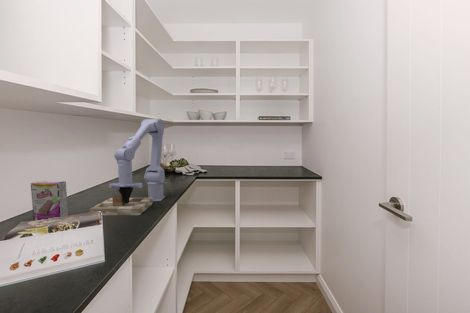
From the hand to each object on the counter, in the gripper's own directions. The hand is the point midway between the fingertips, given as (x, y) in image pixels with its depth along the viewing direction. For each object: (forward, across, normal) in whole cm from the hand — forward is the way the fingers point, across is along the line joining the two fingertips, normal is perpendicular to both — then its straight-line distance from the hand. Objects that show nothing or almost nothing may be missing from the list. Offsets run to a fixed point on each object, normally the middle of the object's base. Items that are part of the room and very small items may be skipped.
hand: (126, 203), depth 108 cm
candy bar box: (+4, -27, -10) cm, 29 cm away
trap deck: (+4, -3, +4) cm, 6 cm away
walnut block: (+1, -3, 0) cm, 4 cm away
